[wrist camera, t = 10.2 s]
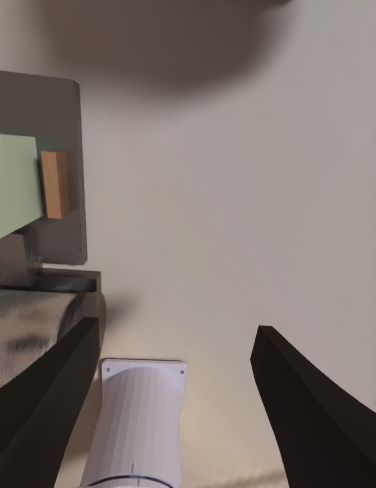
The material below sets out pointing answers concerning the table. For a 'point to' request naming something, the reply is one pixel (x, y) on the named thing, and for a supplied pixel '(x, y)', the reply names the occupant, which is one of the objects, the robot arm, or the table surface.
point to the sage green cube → (18, 183)
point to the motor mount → (46, 227)
